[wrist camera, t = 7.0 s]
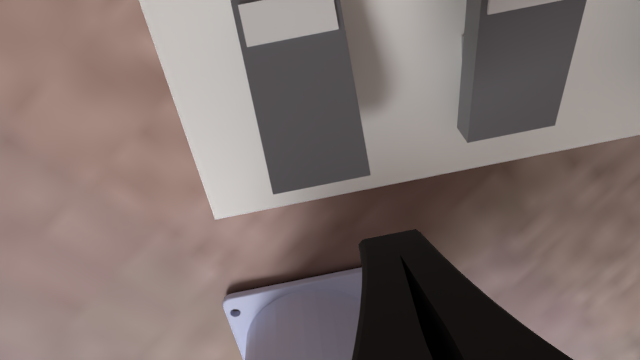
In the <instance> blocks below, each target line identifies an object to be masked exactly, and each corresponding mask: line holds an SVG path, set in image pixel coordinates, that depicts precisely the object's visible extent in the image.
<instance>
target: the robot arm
mask: <svg viewBox="0 0 640 360" xmlns="http://www.w3.org/2000/svg"><path fill="white" fill-rule="evenodd" d="M359 250H360V257H361V263H362V267H361V268H356V269H351V270H346V271H341V272H336V273H331V274H326V275H321V276H316V277H311V278H306V279H301V280H296V281H291V282H286V283H281V284H276V285H271V286H266V287H261V288H256V289H252V290H247V291H242V292H237V293H232V294H228V295H227V296H225V297H224V300H223V308H224V311H225V314H226V316H227V319H228V321H229V324H230V327H231V329H232V332H233V334H234V337H235V340H236V342H237V345H238V348H239V350H240V353H241V355H242V358H243V360H573V359H572V358H570V357H568V356H567V355H566V354H564V353H563V352H561V351H560V350H558V349H557V348H555V347H554V346H552V345H551V344H549V343H548V342H547V341H545V340H544V339H542V338H541V337H540V336H538V335H537V334H535V333H534V332H533V331H531V330H530V329H529V328H527V327H526V326H525V325H523V324H522V323H521V322H519V321H518V320H517V319H515V318H514V317H513V316H512V315H510V314H509V313H508V312H507V311H505V310H504V309H503V308H501V307H500V306H499V305H498V304H496V303H495V302H494V301H493V300H492V299H490V298H489V297H488V296H487V295H486V294H484V293H483V292H482V291H481V290H480V289H479V288H478V287H476V286H475V285H474V284H473V283H472V282H471V281H470V280H468V279H467V278H466V277H465V276H464V275H463V274H462V273H461V272H460V271H458V270H457V269H456V268H455V267H454V266H453V265H452V264H451V263H450V262H449V261H448V260H447V259H446V258H445V257H444V256H443V255H442V254H441V253H440V252H439V251H438V250H437V249H436V248H435V247H434V246H433V245H432V244H431V243H430V242H429V241H428V240H427V239H426V238H425V237H424V236H423V235H422V234H421V233H420V232H419V231H417V230H416V229H415V230H409V231H404V232H399V233H394V234H389V235H384V236H379V237H373V238H368V239H363V240H362V241H361V242H360V243H359ZM233 309H238V310H239V311H233Z"/></svg>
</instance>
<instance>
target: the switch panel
mask: <svg viewBox="0 0 640 360" xmlns="http://www.w3.org/2000/svg"><path fill="white" fill-rule="evenodd" d="M139 2H140V5H141V8H142V11H143V13H144V16H145V19H146V22H147V25H148V28H149V31H150V34H151V36H152V39H153V42H154V45H155V48H156V51H157V54H158V57H159V59H160V62H161V65H162V68H163V71H164V74H165V77H166V80H167V82H168V85H169V88H170V91H171V94H172V97H173V100H174V103H175V105H176V108H177V111H178V114H179V117H180V120H181V123H182V126H183V128H184V131H185V134H186V137H187V140H188V143H189V146H190V149H191V151H192V154H193V157H194V160H195V163H196V166H197V169H198V172H199V174H200V177H201V180H202V183H203V186H204V189H205V192H206V195H207V197H208V200H209V203H210V206H211V209H212V212H213V215H214V218H215V220H216V219H221V218H226V217H231V216H236V215H241V214H246V213H251V212H256V211H261V210H266V209H271V208H276V207H281V206H286V205H291V204H296V203H301V202H306V201H311V200H316V199H321V198H326V197H331V196H336V195H341V194H346V193H351V192H356V191H361V190H366V189H371V188H376V187H381V186H386V185H391V184H396V183H401V182H406V181H411V180H416V179H421V178H426V177H431V176H436V175H441V174H446V173H451V172H456V171H461V170H466V169H471V168H476V167H481V166H486V165H491V164H496V163H501V162H506V161H511V160H516V159H521V158H526V157H531V156H536V155H541V154H546V153H551V152H557V151H562V150H567V149H572V148H577V147H582V146H587V145H592V144H597V143H602V142H607V141H612V140H617V139H622V138H627V137H632V136H637V135H640V0H587V1H586V5H585V9H584V13H583V17H582V21H581V25H580V29H579V33H578V37H577V41H576V45H575V49H574V52H573V56H572V60H571V64H570V68H569V72H568V76H567V80H566V84H565V88H564V92H563V96H562V100H561V104H560V108H559V111H558V115H557V119H556V123H555V126H550V127H545V128H540V129H535V130H530V131H525V132H520V133H515V134H510V135H505V136H500V137H495V138H490V139H484V140H479V141H474V142H469V143H467V142H466V140H465V139H464V137H463V136H462V134H461V133H460V131H459V130H458V128H457V120H458V107H459V94H460V81H461V68H462V55H463V41H464V28H465V15H466V2H467V0H340V2H341V8H342V14H343V19H344V25H345V31H346V37H347V42H348V48H349V54H350V59H351V65H352V71H353V77H354V82H355V88H356V94H357V99H358V105H359V111H360V117H361V122H362V128H363V134H364V139H365V145H366V151H367V157H368V162H369V168H370V174H371V175H369V176H364V177H359V178H354V179H349V180H344V181H339V182H334V183H329V184H324V185H319V186H314V187H309V188H304V189H299V190H294V191H289V192H284V193H279V194H274V195H273V192H272V188H271V183H270V179H269V174H268V169H267V165H266V160H265V156H264V151H263V147H262V142H261V138H260V133H259V129H258V124H257V119H256V115H255V110H254V106H253V101H252V97H251V92H250V88H249V83H248V79H247V74H246V69H245V65H244V60H243V56H242V51H241V47H240V42H239V38H238V33H237V28H236V24H235V19H234V15H233V10H232V6H231V1H230V0H139Z"/></svg>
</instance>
